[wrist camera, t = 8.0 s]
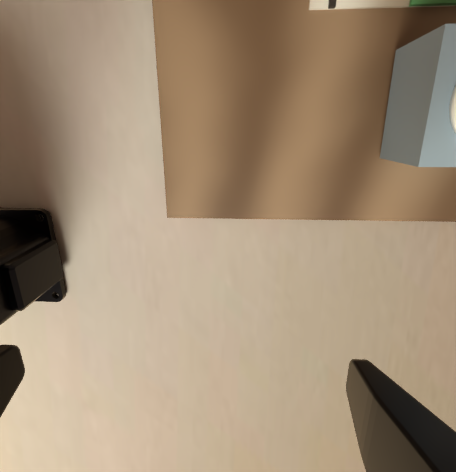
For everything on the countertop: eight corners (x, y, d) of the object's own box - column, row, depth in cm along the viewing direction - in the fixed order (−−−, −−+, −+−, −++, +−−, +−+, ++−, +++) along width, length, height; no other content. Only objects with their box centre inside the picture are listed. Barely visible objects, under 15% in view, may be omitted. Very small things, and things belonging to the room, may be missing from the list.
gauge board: (171, 213, 20) (139, 247, 14) (153, -70, 15) (94, -189, 9) (544, 218, 18) (676, 258, 13) (648, -92, 14) (929, -246, 8)
